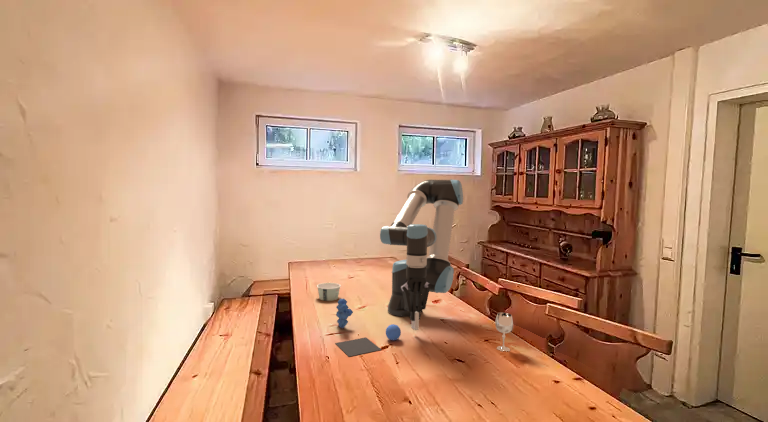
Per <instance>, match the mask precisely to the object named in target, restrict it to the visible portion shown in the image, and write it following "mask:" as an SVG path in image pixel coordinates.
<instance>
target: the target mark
mask: <svg viewBox="0 0 768 422" xmlns="http://www.w3.org/2000/svg"><path fill="white" fill-rule="evenodd" d="M334 344H335V345H336V346H337V347H338V348H339V349H340V350H341V351H342V352H343V353H344V354H345V355H346V356H347V357H348V358H350V357H355V356H359V355H360V356H361V355H365V354H369V353H374V352H378V351H382V348H380V347H379V346H378V345H377V344H375V343H374V342H373V341H371V340H370V339H369V338H368V337H360V338H355V339H349V340H344V341H339V342H335V343H334Z"/></svg>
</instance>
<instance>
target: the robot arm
mask: <svg viewBox="0 0 768 422" xmlns="http://www.w3.org/2000/svg"><path fill="white" fill-rule="evenodd" d="M463 203H464V191H463V185H462V183H461V181H460V180H459V179H427V180H424V181H421V182H419V183H417V184H416V185H414V186H413V187H412V188H411V189H410V191H409V192H408V194H407V199H406V201H405V202H404V204H403V205H402V207H401V209H400V210H399V211H398V213H397V215H396V217H395V218H394V220H393V221H392V223H391V224H390V225H384V226H382V227H381V229H380V231H379V239H380V242H381V243H382V244H384V245H390V246H403V247H404V246H405V247H406V259H401V260H397V261H394V262H393V264H392V271H391V296H390V298H389V301H388V305H387V313H389V315H393V316H397V317H403V318H404V317H405V318H407V317H409V320H410V321H411V329H412V330H414V331H419V330H420V320H421V318H422V317H421V314H422V313H423V310H426V307H427V301H428V299H429V298H428V297H429V293H435V294H438V293H440V294H445V293H448V292H449V290H450V289H451V287H452V284H453V281H454V273H455V270H454V267H453V266H452V263H451V262H450V260H449V255H450V254H449V252H450V246H451V245H450V244H451V238H452V231H453V224H454V217H455V215H454V214H455V212H456V211H457V210H458V209H459V206H461V205H463ZM428 204H431V205H433V207H434V209H435V213H434V219H433V226H432V228H431V227H428V226H427V225H426V224H423V223H422V224H419V223H416V224H415V223H414V221H416V220H415V219H416V218H417V216H418V215H419V212H420V211H421V209H422V208H423V207H425V206H426V205H428ZM428 248H429V250H428ZM428 251H429V252H428ZM427 252H428V253H427Z"/></svg>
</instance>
